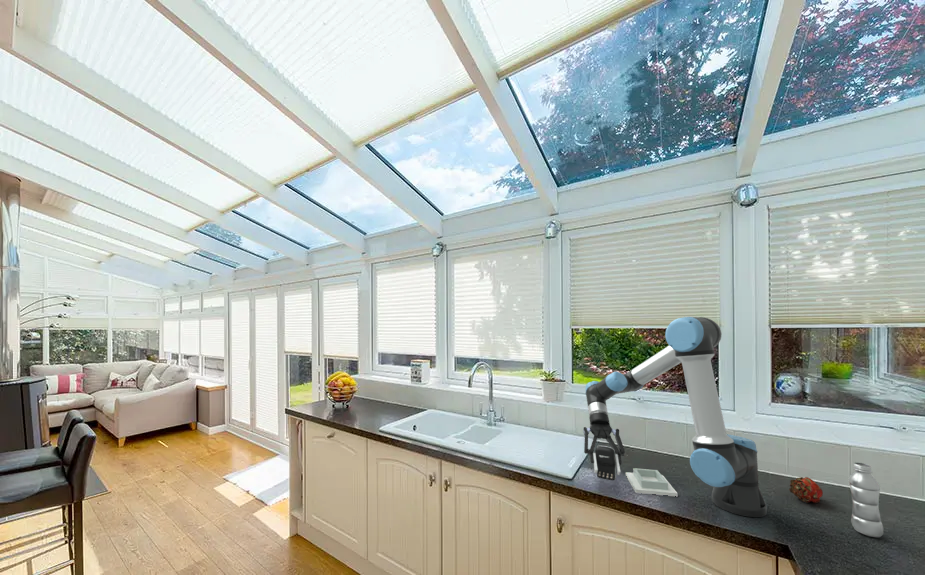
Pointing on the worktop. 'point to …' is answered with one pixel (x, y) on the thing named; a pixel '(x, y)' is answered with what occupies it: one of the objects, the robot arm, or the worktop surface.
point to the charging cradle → (650, 482)
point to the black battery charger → (606, 462)
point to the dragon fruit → (806, 490)
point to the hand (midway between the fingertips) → (607, 472)
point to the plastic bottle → (865, 501)
